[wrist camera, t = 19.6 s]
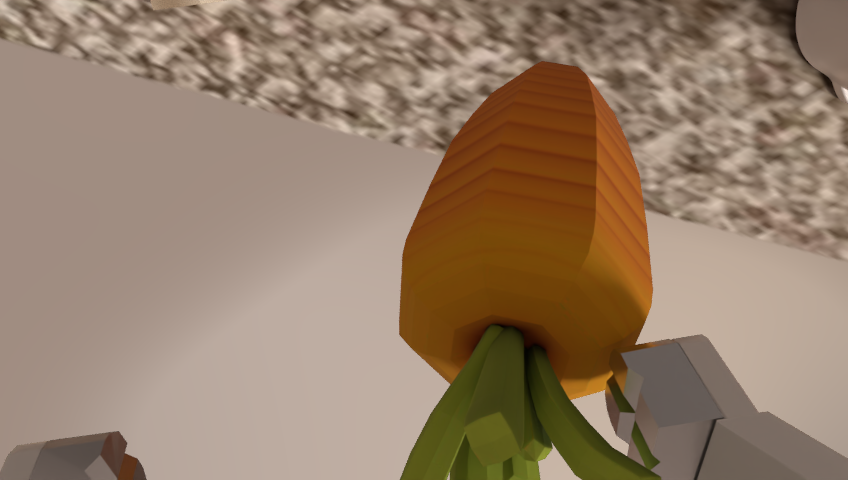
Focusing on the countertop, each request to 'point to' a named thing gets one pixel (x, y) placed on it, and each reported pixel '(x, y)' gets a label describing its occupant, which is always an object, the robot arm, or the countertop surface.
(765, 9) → the countertop surface
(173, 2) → the wooden frame
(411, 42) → the countertop surface
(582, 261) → the carrot
